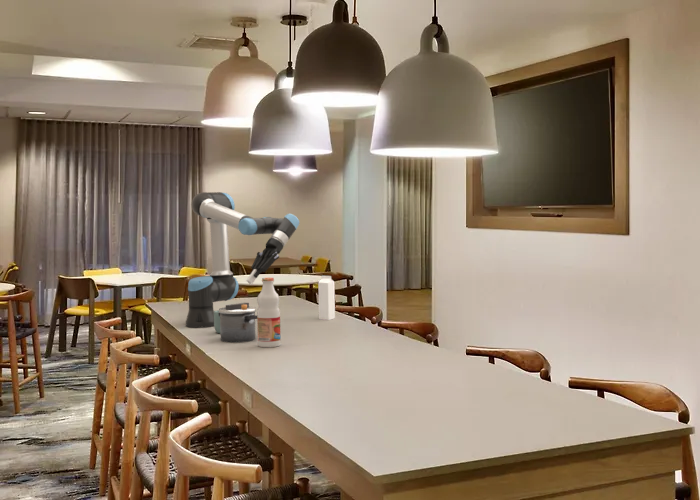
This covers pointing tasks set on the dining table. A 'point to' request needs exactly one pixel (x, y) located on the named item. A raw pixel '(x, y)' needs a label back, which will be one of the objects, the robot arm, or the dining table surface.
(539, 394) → the dining table surface
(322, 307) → the milk
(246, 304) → the lid
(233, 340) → the cooker pot
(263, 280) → the fruit juice
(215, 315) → the cup
